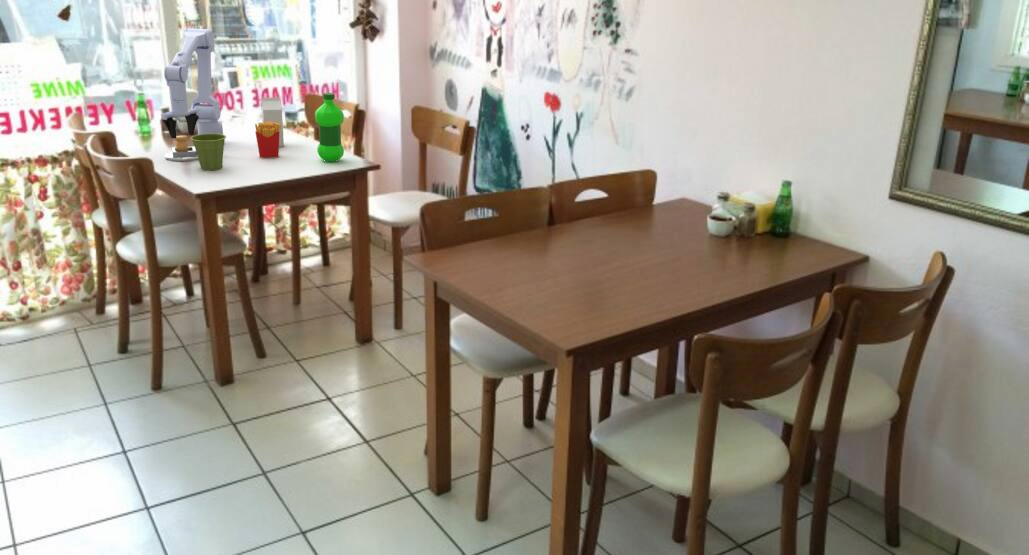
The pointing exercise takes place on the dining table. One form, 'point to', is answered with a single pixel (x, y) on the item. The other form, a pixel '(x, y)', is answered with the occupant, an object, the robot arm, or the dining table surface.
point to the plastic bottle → (329, 129)
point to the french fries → (268, 139)
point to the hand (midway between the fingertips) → (182, 136)
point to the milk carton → (273, 114)
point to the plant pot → (209, 150)
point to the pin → (181, 143)
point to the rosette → (182, 155)
